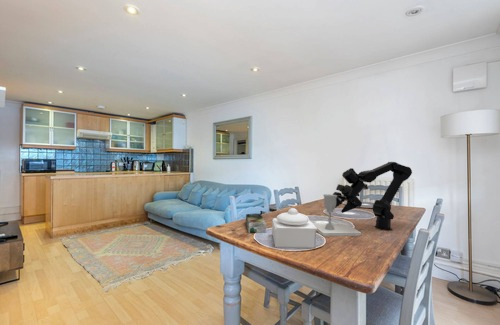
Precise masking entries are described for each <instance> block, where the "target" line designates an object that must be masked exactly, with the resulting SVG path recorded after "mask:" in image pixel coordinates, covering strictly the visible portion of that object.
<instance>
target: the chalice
mask: <svg viewBox="0 0 500 325" xmlns="http://www.w3.org/2000/svg"><path fill="white" fill-rule="evenodd" d="M322 195H323V205H324V208H325V210H326V212H327V213H328V216H327V217H328V218H327V220H328V222H327V223H328V224H327V225H326V226H325V229H327V230H335V229H334V227H333V225H332V224H331V223H332V222H331V221H332V213H333V212H334V211H335V209H336V208H337V207H336V198H337V195H333V194H331V193H329V194H327V193H326V194H322ZM335 207H336V208H335Z"/></svg>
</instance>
